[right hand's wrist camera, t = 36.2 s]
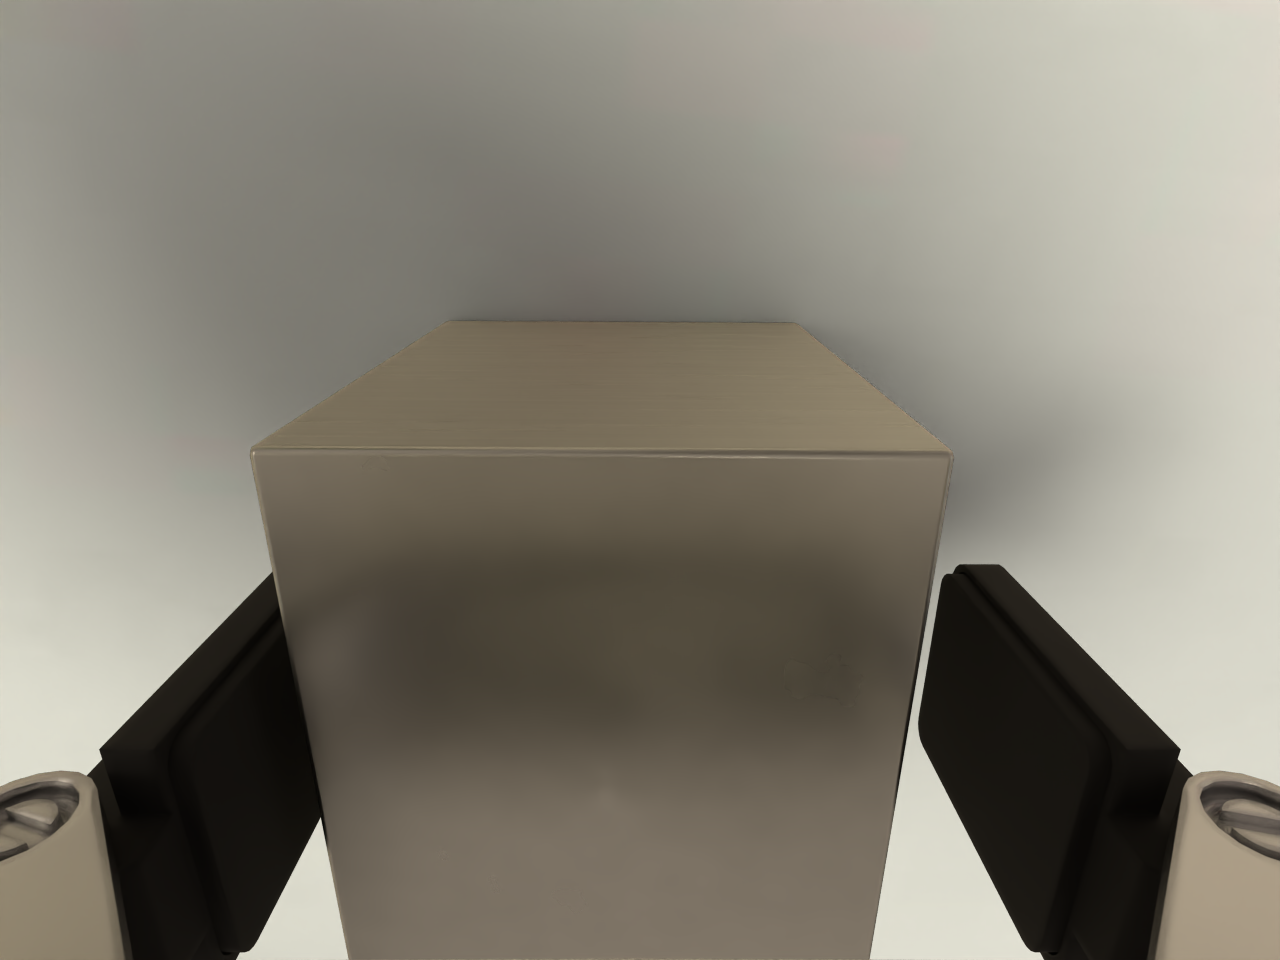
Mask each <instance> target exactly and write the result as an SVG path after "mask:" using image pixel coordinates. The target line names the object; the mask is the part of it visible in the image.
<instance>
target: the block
mask: <svg viewBox="0 0 1280 960" xmlns="http://www.w3.org/2000/svg"><path fill="white" fill-rule="evenodd" d="M250 458H251V463H252V468H253V473H254V479H255V484H256V489H257V494H258V499H259V504H260V509H261V514H262V519H263V524H264V530H265V535H266V540H267V545H268V550H269V555H270V560H271V565H272V570H273V575H274V581H275V586H276V591H277V596H278V601H279V606H280V611H281V616H282V621H283V626H284V632H285V637H286V642H287V647H288V652H289V657H290V662H291V667H292V672H293V677H294V683H295V688H296V693H297V698H298V703H299V708H300V713H301V718H302V723H303V728H304V734H305V739H306V744H307V749H308V754H309V759H310V764H311V769H312V774H313V779H314V785H315V790H316V795H317V800H318V805H319V810H320V815H321V820H322V825H323V831H324V836H325V841H326V846H327V851H328V856H329V861H330V866H331V871H332V876H333V882H334V887H335V892H336V897H337V902H338V907H339V912H340V917H341V922H342V927H343V933H344V938H345V943H346V948H347V953H348V958H349V960H430V959H626V958H654V959H850V960H869V959H870V953H871V947H872V941H873V935H874V929H875V923H876V917H877V911H878V905H879V899H880V893H881V887H882V881H883V875H884V870H885V864H886V858H887V852H888V846H889V840H890V834H891V828H892V822H893V816H894V810H895V804H896V798H897V792H898V786H899V780H900V774H901V769H902V763H903V757H904V751H905V745H906V739H907V733H908V727H909V721H910V715H911V709H912V703H913V697H914V691H915V685H916V679H917V674H918V668H919V662H920V656H921V650H922V644H923V638H924V632H925V626H926V620H927V614H928V608H929V602H930V596H931V590H932V584H933V579H934V573H935V567H936V561H937V555H938V549H939V543H940V537H941V531H942V525H943V519H944V513H945V507H946V501H947V495H948V489H949V484H950V478H951V472H952V466H953V460H954V456H953V453H952V451H951V450H950V449H949V448H948V447H947V446H945V445H944V444H943V443H942V442H941V441H939V440H938V439H937V438H936V437H934V436H933V435H932V434H931V433H930V432H928V431H927V430H926V429H925V428H923V427H922V426H921V425H920V424H919V423H917V422H916V421H915V420H914V419H913V418H911V417H910V416H909V415H908V414H906V413H905V412H904V411H903V410H902V409H900V408H899V407H898V406H897V405H895V404H894V403H893V402H892V401H891V400H889V399H888V398H887V397H886V396H885V395H883V394H882V393H881V392H880V391H878V390H877V389H876V388H875V387H874V386H872V385H871V384H870V383H869V382H867V381H866V380H865V379H864V378H863V377H861V376H860V375H859V374H858V373H857V372H855V371H854V370H853V369H852V368H850V367H849V366H848V365H847V364H846V363H844V362H843V361H842V360H841V359H840V358H838V357H837V356H836V355H835V354H833V353H832V352H831V351H830V350H829V349H827V348H826V347H825V346H824V345H822V344H821V343H820V342H819V341H818V340H816V339H815V338H814V337H813V336H812V335H810V334H809V333H808V332H807V331H805V330H804V329H803V328H802V327H801V326H799V325H798V324H796V323H728V322H556V321H447V322H445V323H443V324H442V325H440V326H439V327H437V328H435V329H434V330H432V331H431V332H429V333H428V334H426V335H425V336H423V337H422V338H420V339H418V340H417V341H415V342H414V343H412V344H411V345H409V346H408V347H406V348H405V349H403V350H401V351H400V352H398V353H397V354H395V355H394V356H392V357H391V358H389V359H387V360H386V361H384V362H383V363H381V364H380V365H378V366H377V367H375V368H374V369H372V370H370V371H369V372H367V373H366V374H364V375H363V376H361V377H360V378H358V379H356V380H355V381H353V382H352V383H350V384H349V385H347V386H346V387H344V388H343V389H341V390H339V391H338V392H336V393H335V394H333V395H332V396H330V397H329V398H327V399H325V400H324V401H322V402H321V403H319V404H318V405H316V406H315V407H313V408H312V409H310V410H308V411H307V412H305V413H304V414H302V415H301V416H299V417H298V418H296V419H294V420H293V421H291V422H290V423H288V424H287V425H285V426H284V427H282V428H281V429H279V430H277V431H276V432H274V433H273V434H271V435H270V436H268V437H267V438H265V439H264V440H262V441H260V442H259V443H257V444H256V445H254V446H253V447H252V448H251V451H250Z"/></svg>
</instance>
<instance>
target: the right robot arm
mask: <svg viewBox="0 0 1280 960" xmlns="http://www.w3.org/2000/svg"><path fill="white" fill-rule="evenodd" d="M918 729H919V736H920V740H921V743H922V745H923V747H924V749H925V751H926V753H927V755H928V757H929V759H930V761H931V763H932V765H933V767H934V769H935V771H936V773H937V775H938V777H939V779H940V780H941V782H942V784H943V786H944V788H945V790H946V792H947V794H948V796H949V798H950V800H951V802H952V804H953V806H954V808H955V810H956V812H957V814H958V816H959V818H960V819H961V821H962V823H963V825H964V827H965V829H966V831H967V833H968V835H969V837H970V839H971V841H972V843H973V845H974V847H975V849H976V851H977V853H978V855H979V856H980V858H981V860H982V862H983V864H984V866H985V868H986V870H987V872H988V874H989V876H990V878H991V880H992V882H993V884H994V886H995V888H996V890H997V892H998V894H999V895H1000V897H1001V899H1002V901H1003V903H1004V905H1005V907H1006V909H1007V911H1008V913H1009V915H1010V917H1011V919H1012V921H1013V923H1014V925H1015V927H1016V929H1017V931H1018V933H1019V934H1020V936H1021V938H1022V940H1023V942H1024V943H1025V945H1026V946H1027V947H1028V949H1029V950H1030V951H1033V952H1040V953H1041V955H1042V957H1043V959H1044V960H1280V786H1277V785H1275V784H1273V783H1270V782H1268V781H1265V780H1262V779H1258V778H1255V777H1252V776H1248V775H1245V774H1241V773H1233V772H1225V771H1210V772H1201V773H1198V774H1196V775H1194V776H1193V775H1192V774H1191V773H1190V772H1189V771H1188V770H1187V769H1186V768H1185V767H1184V765H1183V764H1182V763H1181V762H1180V761H1179V760H1178V756H1179V753H1180V750H1181V749H1180V748H1179V747H1178V746H1177V745H1176V744H1175V743H1174V742H1173V741H1172V740H1171V739H1170V738H1169V737H1168V736H1167V735H1166V734H1165V733H1164V732H1163V731H1162V730H1161V729H1160V728H1159V727H1158V726H1157V725H1156V724H1155V723H1154V722H1153V720H1152V719H1151V718H1150V717H1149V716H1148V715H1147V714H1146V713H1145V712H1144V711H1143V710H1142V709H1141V708H1140V707H1139V706H1138V705H1137V704H1136V703H1135V702H1134V701H1133V700H1132V699H1131V698H1130V697H1129V696H1128V695H1127V694H1126V693H1125V692H1124V691H1123V690H1122V689H1121V688H1120V687H1119V686H1118V685H1117V684H1116V683H1115V681H1114V680H1113V679H1112V678H1111V677H1110V676H1109V675H1108V674H1107V673H1106V672H1105V671H1104V670H1103V669H1102V668H1101V667H1100V666H1099V665H1098V664H1097V663H1096V662H1095V661H1094V660H1093V659H1092V658H1091V657H1090V656H1089V655H1088V654H1087V653H1086V652H1085V651H1084V650H1083V649H1082V648H1081V647H1080V646H1079V645H1078V644H1077V643H1076V641H1075V640H1074V639H1073V638H1072V637H1071V636H1070V635H1069V634H1068V633H1067V632H1066V631H1065V630H1064V629H1063V628H1062V627H1061V626H1060V625H1059V624H1058V623H1057V622H1056V621H1055V620H1054V619H1053V618H1052V617H1051V616H1050V615H1049V614H1048V613H1047V612H1046V611H1045V610H1044V609H1043V608H1042V607H1041V606H1040V605H1039V604H1038V603H1037V601H1036V600H1035V599H1034V598H1033V597H1032V596H1031V595H1030V594H1029V593H1028V592H1027V591H1026V590H1025V589H1024V588H1023V587H1022V586H1021V585H1020V584H1019V583H1018V582H1017V581H1016V580H1015V579H1014V578H1013V577H1012V576H1011V575H1010V574H1009V573H1008V572H1007V571H1006V570H1005V569H1004V568H1003V567H1002V566H1000V565H996V564H960V565H958V566H957V567H956V568H955V570H954V572H953V574H946V575H945V576H944V577H943V579H942V582H941V587H940V593H939V599H938V605H937V611H936V617H935V623H934V629H933V635H932V641H931V647H930V653H929V659H928V665H927V671H926V677H925V683H924V689H923V695H922V701H921V707H920V713H919V720H918ZM99 750H100V753H101V756H102V760H101V761H100V762H99V763H98V764H97V765H96V767H95V768H94V769H93V770H92V771H91V772H90V773H89V774H88V775H87V776H86V775H84V774H82V773H79V772H70V771H55V772H47V773H39V774H35V775H32V776H28V777H25V778H22V779H18V780H15V781H12V782H10V783H7V784H5V785H3V786H0V960H236V959H237V957H238V955H239V953H240V952H247V951H250V950H251V948H252V947H253V946H254V945H255V943H256V942H257V940H258V938H259V936H260V934H261V932H262V931H263V929H264V927H265V925H266V923H267V921H268V919H269V917H270V915H271V913H272V911H273V909H274V907H275V905H276V903H277V901H278V899H279V897H280V895H281V893H282V892H283V890H284V888H285V886H286V884H287V882H288V880H289V878H290V876H291V874H292V872H293V870H294V868H295V866H296V864H297V862H298V860H299V858H300V856H301V855H302V853H303V851H304V849H305V847H306V845H307V843H308V841H309V839H310V837H311V835H312V833H313V831H314V829H315V827H316V825H317V823H318V821H319V819H320V817H321V815H320V810H319V805H318V800H317V795H316V790H315V785H314V779H313V774H312V769H311V764H310V759H309V754H308V749H307V744H306V739H305V734H304V728H303V723H302V718H301V713H300V708H299V703H298V698H297V693H296V688H295V683H294V677H293V672H292V667H291V662H290V657H289V652H288V647H287V642H286V637H285V632H284V626H283V621H282V616H281V611H280V606H279V601H278V596H277V591H276V586H275V581H274V575H273V572H272V573H271V574H270V575H269V576H268V577H267V578H266V579H265V580H264V581H263V582H262V583H261V584H260V585H259V586H258V587H257V588H256V589H255V590H254V591H253V592H252V593H251V594H250V595H249V596H248V597H247V598H246V599H245V600H244V601H243V602H242V604H241V605H240V606H239V607H238V608H237V609H236V610H235V611H234V612H233V613H232V614H231V615H230V616H229V617H228V618H227V619H226V620H225V621H224V622H223V623H222V624H221V625H220V626H219V627H218V628H217V629H216V630H215V631H214V632H213V633H212V634H211V635H210V636H209V637H208V638H207V639H206V640H205V641H204V642H203V644H202V645H201V646H200V647H199V648H198V649H197V650H196V651H195V652H194V653H193V654H192V655H191V656H190V657H189V658H188V659H187V660H186V661H185V662H184V663H183V664H182V665H181V666H180V667H179V668H178V669H177V670H176V671H175V672H174V673H173V674H172V675H171V676H170V677H169V678H168V679H167V680H166V681H165V683H164V684H163V685H162V686H161V687H160V688H159V689H158V690H157V691H156V692H155V693H154V694H153V695H152V696H151V697H150V698H149V699H148V700H147V701H146V702H145V703H144V704H143V705H142V706H141V707H140V708H139V709H138V710H137V711H136V712H135V713H134V714H133V715H132V716H131V717H130V718H129V719H128V720H127V721H126V723H125V724H124V725H123V726H122V727H121V728H120V729H119V730H118V731H117V732H116V733H115V734H114V735H113V736H112V737H111V738H110V739H109V740H108V741H107V742H106V743H105V744H104V745H103V746H102V747H101V748H100V749H99ZM430 960H850V959H654V958H626V959H430Z"/></svg>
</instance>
